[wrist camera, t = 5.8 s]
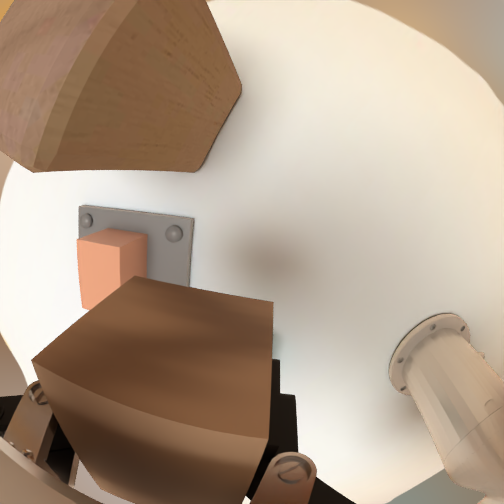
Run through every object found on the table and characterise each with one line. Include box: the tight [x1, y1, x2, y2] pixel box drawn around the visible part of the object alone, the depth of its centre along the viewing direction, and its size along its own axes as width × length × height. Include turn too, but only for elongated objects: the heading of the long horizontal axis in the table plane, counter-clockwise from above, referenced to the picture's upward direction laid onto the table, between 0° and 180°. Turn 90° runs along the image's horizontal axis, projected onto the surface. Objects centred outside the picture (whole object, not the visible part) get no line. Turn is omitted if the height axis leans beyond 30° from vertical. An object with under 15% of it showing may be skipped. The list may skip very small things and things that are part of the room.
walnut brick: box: [31, 276, 273, 504], centre depth 7 cm, size 5×7×6 cm
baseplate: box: [77, 205, 194, 310], centre depth 25 cm, size 14×11×6 cm
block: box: [0, 0, 242, 173], centre depth 14 cm, size 10×10×20 cm
